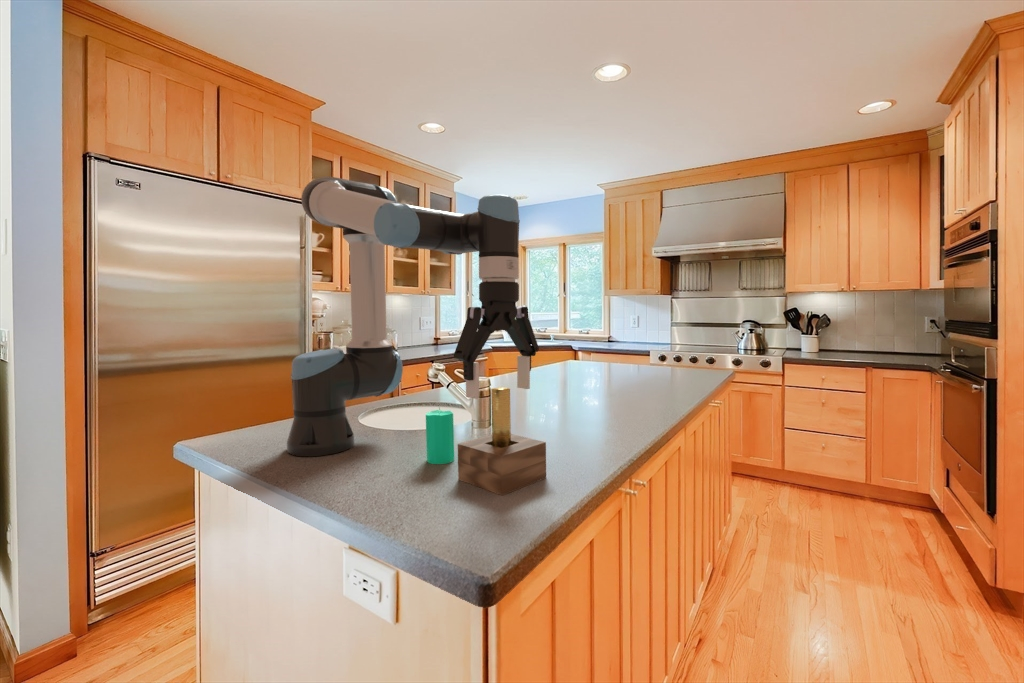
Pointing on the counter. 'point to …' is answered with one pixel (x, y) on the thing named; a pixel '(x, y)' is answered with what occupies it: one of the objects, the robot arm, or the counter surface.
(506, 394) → the brass pin
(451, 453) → the candle
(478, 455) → the bore block
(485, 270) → the robot arm
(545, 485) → the counter surface
